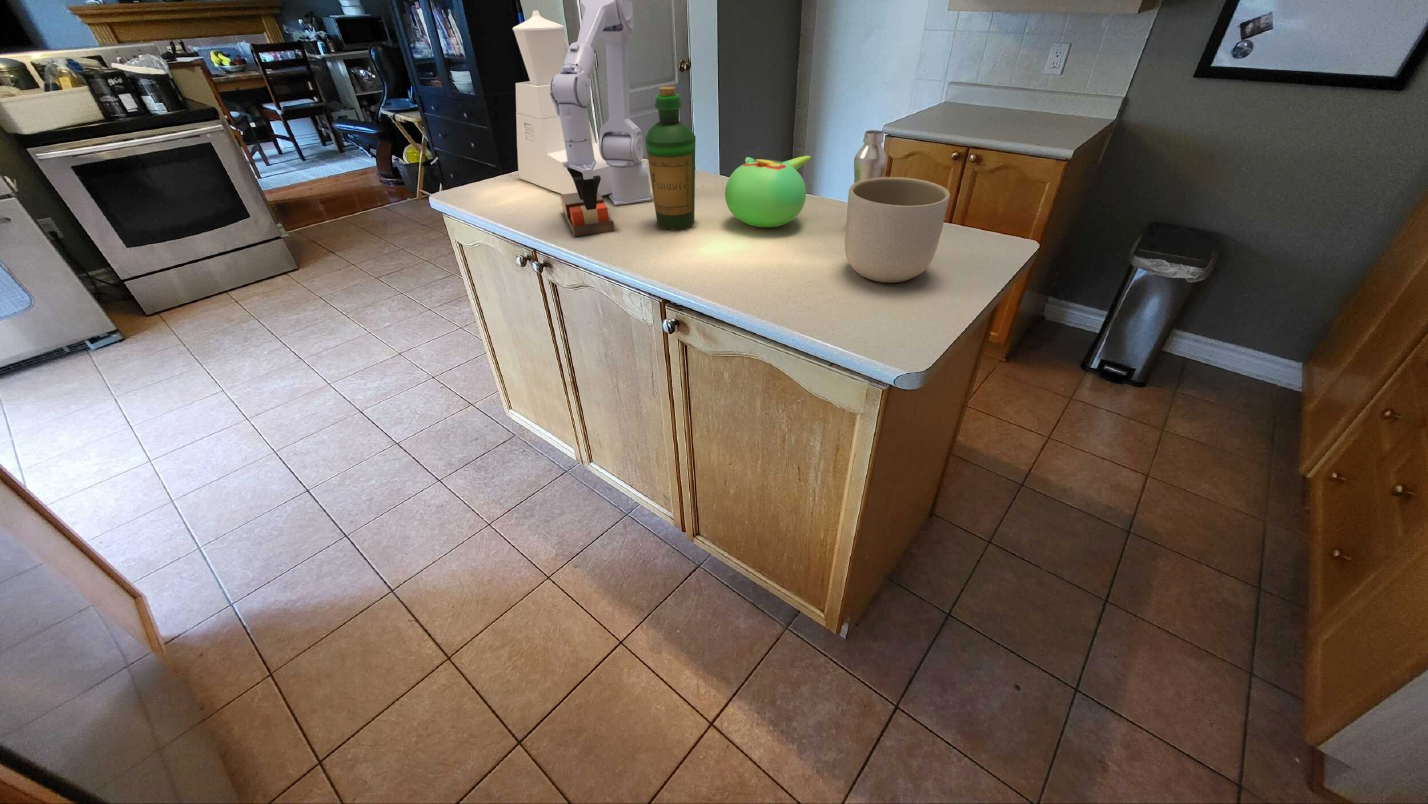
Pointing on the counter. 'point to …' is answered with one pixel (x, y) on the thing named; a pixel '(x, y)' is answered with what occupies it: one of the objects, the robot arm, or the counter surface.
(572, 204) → the step shelf
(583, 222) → the candy bar
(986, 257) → the counter surface
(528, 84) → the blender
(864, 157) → the silver metal bottle
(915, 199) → the planter
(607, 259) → the counter surface
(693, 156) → the bottle
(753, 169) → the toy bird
